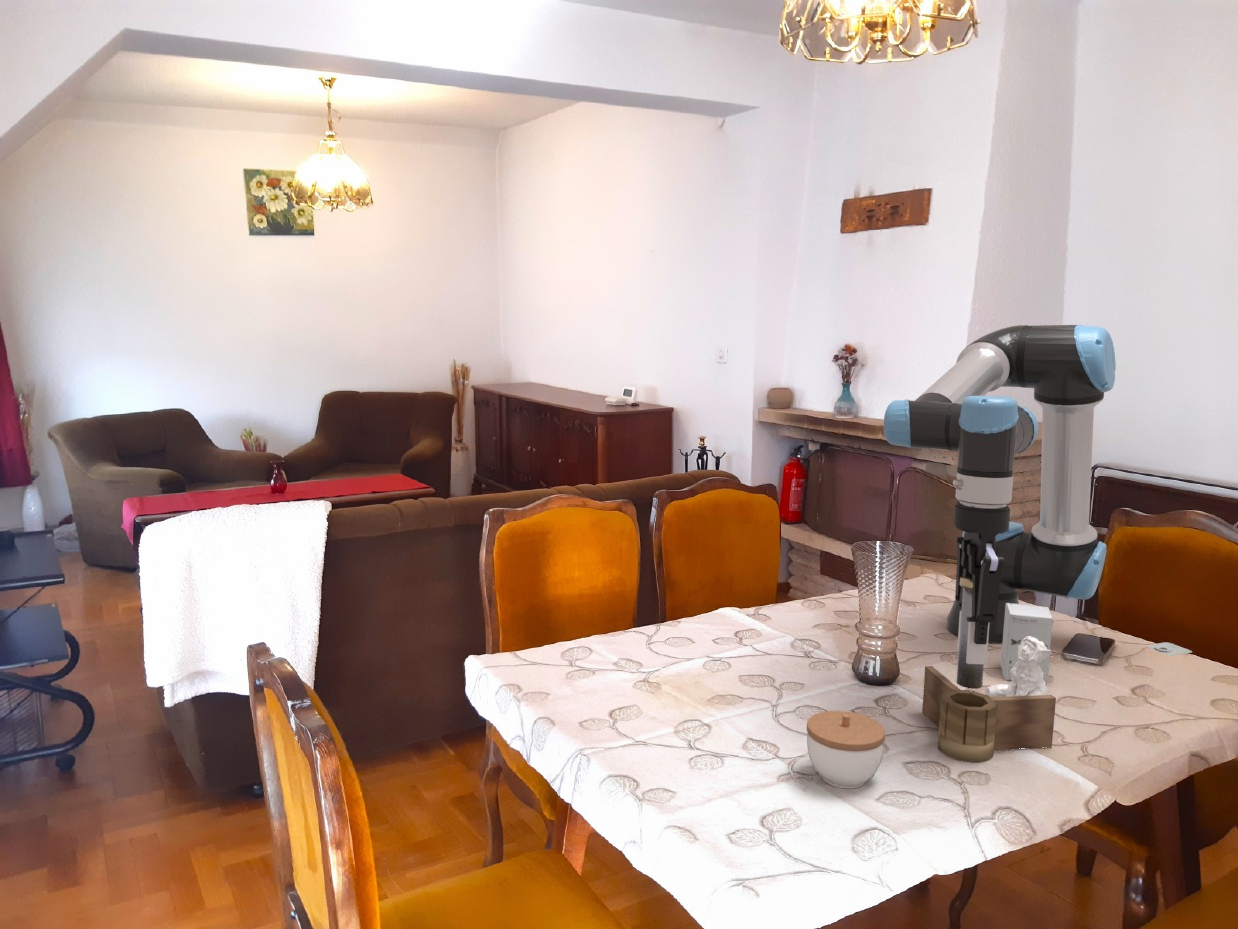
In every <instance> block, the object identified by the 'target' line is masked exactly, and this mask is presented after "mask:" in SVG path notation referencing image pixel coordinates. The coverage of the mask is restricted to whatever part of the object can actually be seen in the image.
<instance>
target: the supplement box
mask: <svg viewBox="0 0 1238 929" xmlns="http://www.w3.org/2000/svg"><path fill="white" fill-rule="evenodd" d="M1053 621H1054V618H1053V616H1052V613H1051V610H1050V609H1049V607H1048V606H1040V605H1029V604H1020V603H1019V604H1012V603H1006V605H1005V618H1004V630H1003V643H1001V644H1002V645H1001V657H1000V658H1001V659H1000V668H1001V672H1002V675H1003V679H1004V680H1007V681H1009V680H1010V681H1011V680H1012V675H1011V672H1010V670H1011V669H1012V668H1013V667H1014V666H1015V664H1016V662H1017V661H1018V660H1019V659H1018V654H1017V653H1018V649H1019V648H1018V646H1019V645H1020V644H1021V641H1022V640H1023V639H1024V638H1025V637H1027V636H1031V637H1034V638H1036V639H1038V640H1039V641H1042V642H1043V643H1044V644H1045V646H1046V647H1047V650H1051V642H1052V634H1053V633H1052V632H1053V624H1054V622H1053ZM1038 665H1039V666H1040V667H1041V670H1042V672H1043V673H1044V675H1043V680H1044V681H1045V684H1046V685H1047V684H1048V680H1049V667H1050V656H1049V657H1047V658H1045V659H1044V660H1043V661H1042V662H1041V663H1038Z"/></svg>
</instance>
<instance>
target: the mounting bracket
mask: <svg viewBox="0 0 1238 929" xmlns="http://www.w3.org/2000/svg"><path fill="white" fill-rule="evenodd" d="M1157 645H1158V646H1157ZM1145 647H1147V648H1150V649H1152V650H1155V651H1157V652H1160V653H1161V654H1164V655H1166V656H1168V657H1172V656H1178V655H1185V654H1192V653H1193V651H1192V650H1190V649H1188V648H1184V647H1181V646H1179V645H1177V644H1174V643H1172V642H1160V643H1154V644H1153V643H1152V644H1146V645H1145ZM1174 650H1176V651H1174Z"/></svg>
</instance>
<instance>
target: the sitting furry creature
mask: <svg viewBox="0 0 1238 929" xmlns="http://www.w3.org/2000/svg"><path fill="white" fill-rule="evenodd" d="M1018 648H1019V649H1018V653H1017V654H1018V659H1019V660H1018V661H1017V662H1016V664H1015V666H1014V667H1013V668H1012V669H1011V670H1010V672H1011V675H1012V680H1010V681H1011V683H1008V684H1007V683H1006V684H1005V683H1004V684H1001V683H999V684H992V685H989V686H987V687H985V695H988V696H989V697H1009V696H1034V695H1049V693H1050V691H1049V690H1048V689H1049V688H1048V687H1047V684H1045V681H1044V680H1043V675H1044V673H1043V672H1042V670H1041V667H1040V666H1039V665H1038V663H1041V662H1042V661H1043V660H1044V659H1045V658H1047V657H1049V658H1050V656H1051V655H1052V650H1051V649H1050V650H1047V647H1046V646H1045V644H1044V643H1043V642H1042V641H1039V640H1038V639H1036V638H1034V637H1031V636H1027V637H1025V638H1024V639H1023V640H1022V641H1021V644H1020V645H1019V646H1018Z"/></svg>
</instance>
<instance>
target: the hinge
mask: <svg viewBox="0 0 1238 929" xmlns="http://www.w3.org/2000/svg"><path fill="white" fill-rule="evenodd" d="M933 666H934V665H927V666H924V677H923V678H924V680H923V691H922V692H923V694H922V696H923V697H922V708H921V711H922V712H921V713H922V714H923V715H925V716H926V718H928V719H929V720H930V721H931V722H932V723H933V724H934V725H935V726H936V727H937V728H938V742H937V744H938V745H937V748H938V750H939V751H940V752H941V753H943V754H944V755H945V756H947V757H948V758H952V759H954V760H957V761H960V762H961V761H962V762H967V763H984V762H987V761H990V760H991V759H993V757H994V753H995V752H994V751H1012V749H1017V750H1022V749H1021V748H1026V749H1025V750H1028V749H1027V748H1038V749H1049V748H1048V747H1052V748H1053V737H1054V726H1055V715H1056V713H1055V712H1056V705H1057V704H1056V702H1057V699H1056V697H1055V695H1052V694H1048V695H1034V696H1009V697H989V696H988V695H986V694H985V693H981V692H977V691H975V690H970V689H969V690H968V689H960V688H959V687H958V686H957V685H956V684H954V683H953V681H951V680H949V678H947V677H946V676H945V675H944V674H942V673H941V672H940V671H939V670H938V669H936V668H935V667H933ZM1042 747H1044V748H1042ZM1045 747H1047V748H1045ZM1019 748H1020V749H1019Z"/></svg>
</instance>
